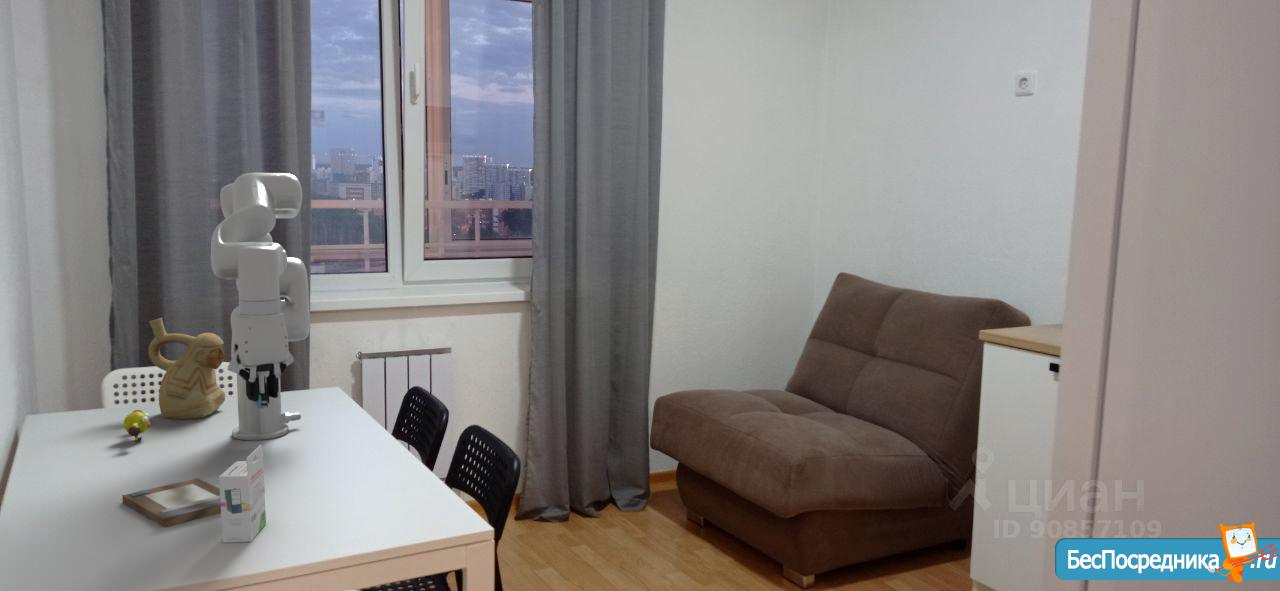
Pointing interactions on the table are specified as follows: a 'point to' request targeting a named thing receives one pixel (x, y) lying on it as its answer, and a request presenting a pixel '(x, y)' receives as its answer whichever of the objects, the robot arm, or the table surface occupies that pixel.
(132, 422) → the toy figure
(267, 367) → the push button
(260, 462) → the ink box
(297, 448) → the table surface
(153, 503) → the brown flat wooden tray
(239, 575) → the table surface
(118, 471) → the table surface
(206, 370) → the ceramic vessel
